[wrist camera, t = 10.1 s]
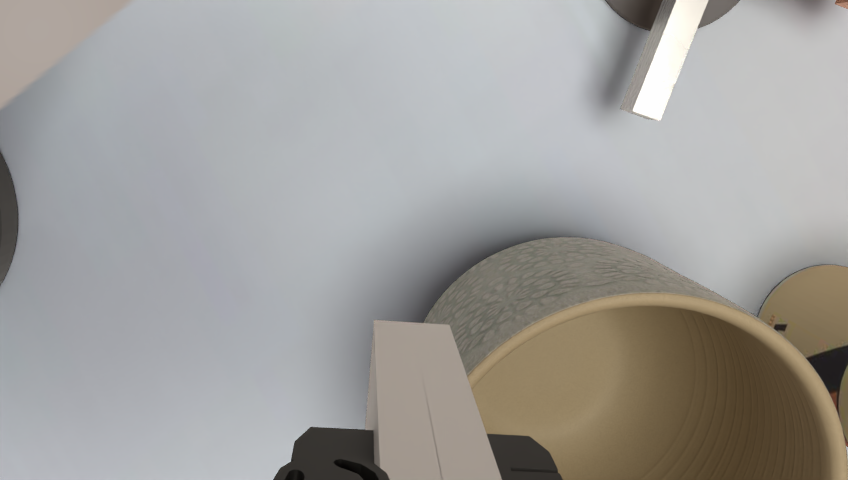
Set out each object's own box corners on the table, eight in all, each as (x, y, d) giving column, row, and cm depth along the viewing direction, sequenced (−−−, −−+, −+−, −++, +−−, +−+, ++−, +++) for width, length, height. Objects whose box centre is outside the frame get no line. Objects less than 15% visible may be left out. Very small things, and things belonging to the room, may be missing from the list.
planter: (619, 160, 42) (761, 210, 27) (728, 416, 46) (906, 584, 31) (340, 298, 42) (327, 423, 27) (471, 540, 46) (524, 766, 31)
